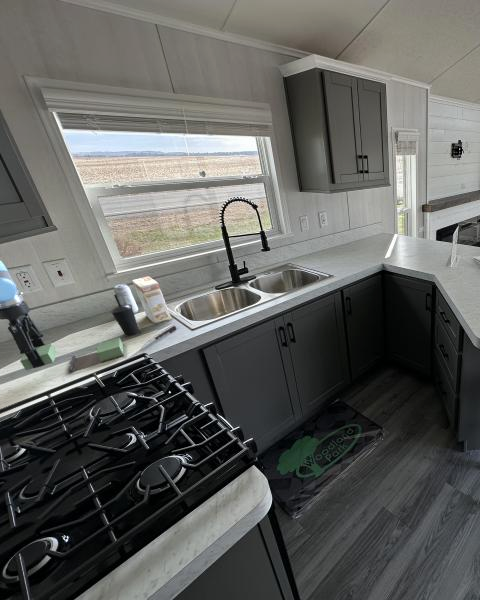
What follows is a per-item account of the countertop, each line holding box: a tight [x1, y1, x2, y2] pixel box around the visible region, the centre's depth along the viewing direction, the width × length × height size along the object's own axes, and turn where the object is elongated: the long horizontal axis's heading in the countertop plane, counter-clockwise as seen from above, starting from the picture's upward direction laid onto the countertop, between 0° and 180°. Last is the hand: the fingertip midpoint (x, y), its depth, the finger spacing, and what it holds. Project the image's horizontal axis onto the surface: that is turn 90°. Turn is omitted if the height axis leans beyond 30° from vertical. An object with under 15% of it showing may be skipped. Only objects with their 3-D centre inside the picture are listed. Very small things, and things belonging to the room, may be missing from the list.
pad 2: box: [96, 337, 124, 362], centre depth 131 cm, size 7×9×4 cm
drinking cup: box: [109, 294, 140, 337], centre depth 142 cm, size 8×8×20 cm
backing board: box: [68, 343, 125, 374], centre depth 129 cm, size 16×12×2 cm
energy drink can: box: [113, 283, 139, 314], centre depth 164 cm, size 6×6×15 cm
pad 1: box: [19, 342, 58, 371], centre depth 118 cm, size 7×9×4 cm
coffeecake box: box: [131, 275, 172, 324], centre depth 157 cm, size 15×7×20 cm, turn 49°
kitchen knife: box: [141, 325, 177, 349], centre depth 142 cm, size 18×1×2 cm, turn 169°
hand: (42, 360), depth 119 cm, fingers closed on pad 1, 9 cm apart
